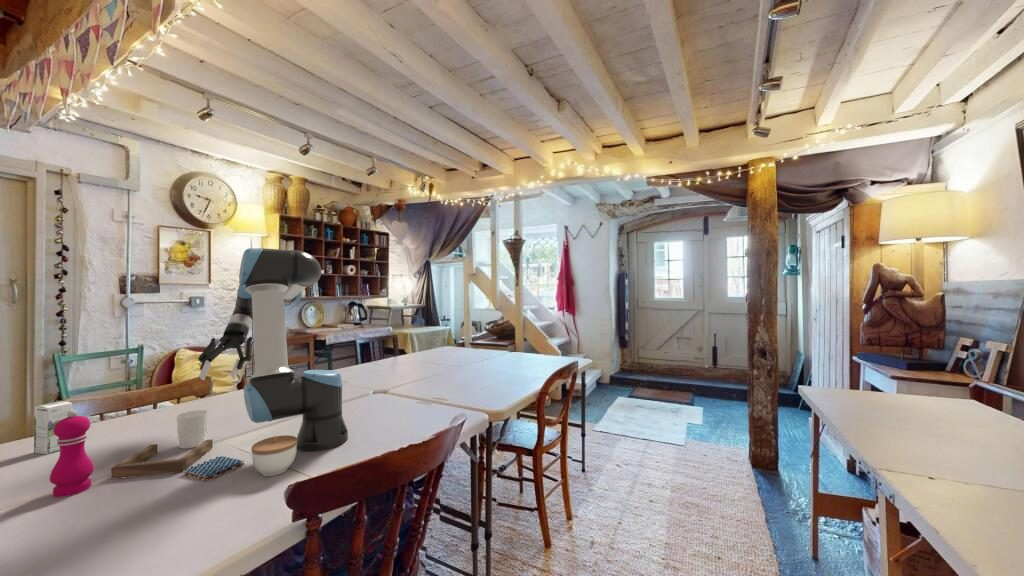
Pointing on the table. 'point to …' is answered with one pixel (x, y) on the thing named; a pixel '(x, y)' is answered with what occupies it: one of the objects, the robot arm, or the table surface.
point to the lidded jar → (274, 454)
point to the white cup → (192, 428)
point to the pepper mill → (71, 456)
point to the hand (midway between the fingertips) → (217, 377)
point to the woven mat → (213, 468)
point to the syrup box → (48, 425)
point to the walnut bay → (158, 462)
